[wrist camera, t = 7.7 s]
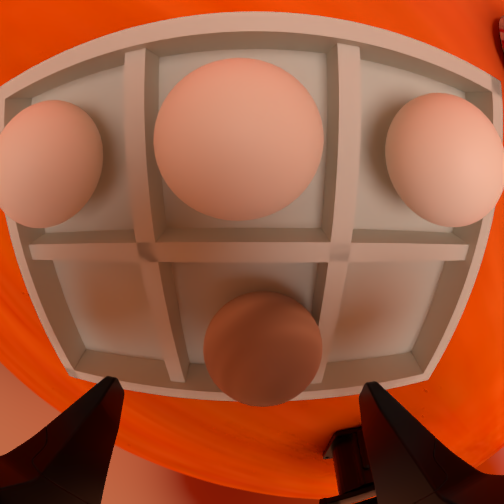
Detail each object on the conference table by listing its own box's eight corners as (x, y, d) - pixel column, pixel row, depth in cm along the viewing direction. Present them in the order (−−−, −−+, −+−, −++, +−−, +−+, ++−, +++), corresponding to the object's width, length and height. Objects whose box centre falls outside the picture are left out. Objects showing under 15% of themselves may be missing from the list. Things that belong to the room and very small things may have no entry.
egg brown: (294, 262, 12) (358, 324, 8) (287, 340, 14) (331, 405, 10) (187, 279, 11) (213, 364, 7) (200, 360, 13) (225, 439, 9)
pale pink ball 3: (129, 202, 11) (63, 249, 6) (50, 210, 11) (-16, 249, 6) (122, 91, 9) (46, 77, 4) (41, 116, 9) (-34, 125, 4)
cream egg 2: (304, 199, 10) (338, 249, 6) (182, 200, 11) (135, 249, 6) (306, 79, 8) (346, 41, 4) (178, 81, 9) (123, 49, 4)
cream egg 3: (446, 208, 10) (513, 250, 6) (360, 201, 10) (421, 249, 6) (454, 111, 8) (530, 117, 4) (365, 86, 8) (436, 66, 4)
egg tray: (411, 348, 15) (428, 379, 13) (87, 346, 16) (69, 376, 13) (462, 83, 8) (500, 81, 6) (34, 89, 9) (-3, 88, 6)
